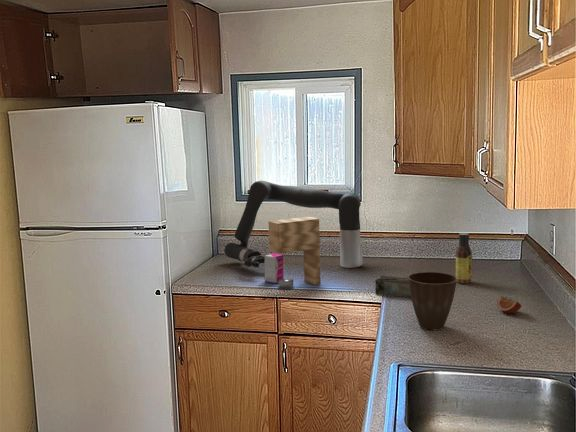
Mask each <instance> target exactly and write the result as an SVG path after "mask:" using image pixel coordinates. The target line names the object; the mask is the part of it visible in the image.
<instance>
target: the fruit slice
mask: <svg viewBox="0 0 576 432" xmlns="http://www.w3.org/2000/svg"><path fill="white" fill-rule="evenodd" d="M496 305H497V308H498V309H499V310H500V311H502V312H503V313H505V314H514V313H517V312H518V311H519V310H520V309H521V308H522V304H521V303H520V302H519V301H516V300H514V299H512V298H507V297H504V296H503V295H499V297H498V298H497V300H496Z"/></svg>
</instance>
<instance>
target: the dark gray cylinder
mask: <svg viewBox="0 0 576 432" xmlns="http://www.w3.org/2000/svg"><path fill="white" fill-rule="evenodd" d="M278 288H279V289H282V290H288V289H289V290H290V289H293V288H294V279H293V278H290V277H283V278H282V279H279V282H278Z"/></svg>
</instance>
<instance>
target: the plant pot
mask: <svg viewBox="0 0 576 432" xmlns="http://www.w3.org/2000/svg"><path fill="white" fill-rule="evenodd" d="M407 278H408V281H409V288H410V294H411V297H410V298H411V302H412V307H413V310H414V314H415V317H416V320H417V323H418V325H419V326H421V327H423V328H422V329H424V328H425V329H424V330H428V329H433V330H432V331H435V330H434V329H439V330H441V328H442V329H443V328H444V326H445V324H446V322H447V321H448V316H449V314H450V312H451V311H450V310H451V308H452V304H453V300H454V296H455V292H456V288H457V287H456V286H457V278H456V275H455V276H454V275H452V274H449V273H446V272H445V273H444V272H437V271H436V272H435V271H422V272H421V271H420V272H415V273H414V272H413V273H412V274H409V275H408V277H407ZM421 327H420V328H421Z"/></svg>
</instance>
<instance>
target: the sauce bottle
mask: <svg viewBox="0 0 576 432" xmlns="http://www.w3.org/2000/svg"><path fill="white" fill-rule="evenodd" d="M469 239H470V233H466V232H465V233H464V232H461V233H458V246H457V248H456V250H455V277H456V278H457V282H456V284H457V283H458V284H462V285H463V284H464V285H465V284H466V285H467V284H471V282H472V279H473V278H472V276H473V275H472V273H473V272H472V271H473V270H472V268H473V267H472V266H473V265H472V264H473V261H472V260H473V253H472V250H471V247H470V245H469V244H470V242H469V241H470V240H469Z"/></svg>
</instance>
